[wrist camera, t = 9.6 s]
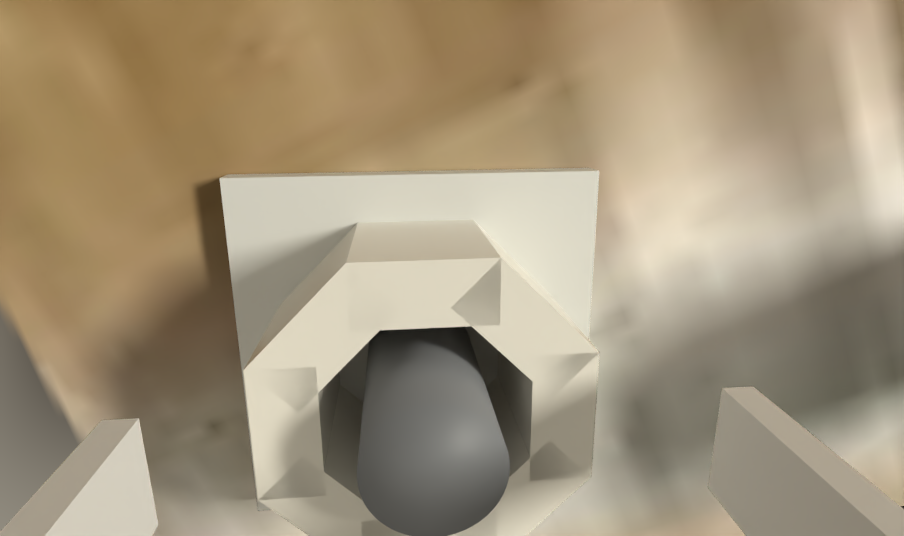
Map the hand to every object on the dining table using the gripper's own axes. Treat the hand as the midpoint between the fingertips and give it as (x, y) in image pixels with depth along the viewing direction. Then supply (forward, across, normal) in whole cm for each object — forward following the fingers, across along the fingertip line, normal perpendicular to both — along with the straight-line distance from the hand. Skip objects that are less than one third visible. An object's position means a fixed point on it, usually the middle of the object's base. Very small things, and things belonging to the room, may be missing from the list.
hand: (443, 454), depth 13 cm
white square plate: (+8, 0, -1) cm, 8 cm away
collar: (+7, 0, -1) cm, 7 cm away
